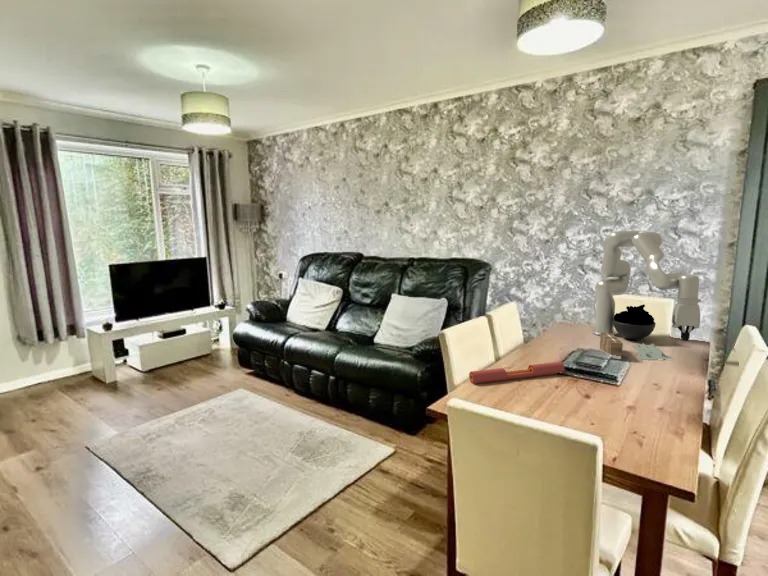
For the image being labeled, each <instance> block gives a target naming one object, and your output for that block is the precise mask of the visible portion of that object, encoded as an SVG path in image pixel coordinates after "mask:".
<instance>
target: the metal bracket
mask: <svg viewBox="0 0 768 576" xmlns="http://www.w3.org/2000/svg"><path fill="white" fill-rule="evenodd" d="M631 348H633V349H634V350H635V351H636V352H637V353H638V354H639V355H640V356H638V358H639V360H641V361H643V360H648V361H659V360H658V359H674V357H672V356H671V355H666V354H665V353H664V351H662V349H660V348H659V347H657V346H656V345H655V343H651V344H648V345H647V344H645V343H643V342H642V344H641V345H640V343H636V345H632V346H631ZM674 360H675V359H674Z"/></svg>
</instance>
